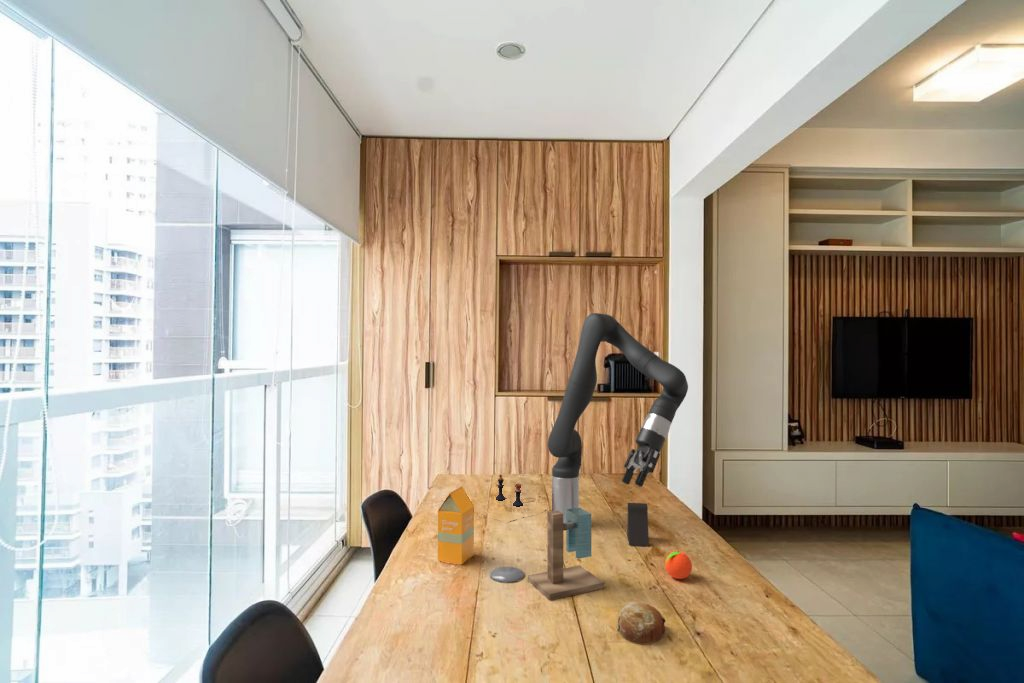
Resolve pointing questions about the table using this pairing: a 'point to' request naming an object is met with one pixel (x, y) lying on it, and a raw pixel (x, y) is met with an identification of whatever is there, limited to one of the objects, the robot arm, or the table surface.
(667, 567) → the clementine
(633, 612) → the bread roll
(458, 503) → the orange juice
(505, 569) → the coaster
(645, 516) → the phone stand
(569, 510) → the c link
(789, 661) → the table surface
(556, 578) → the stand
